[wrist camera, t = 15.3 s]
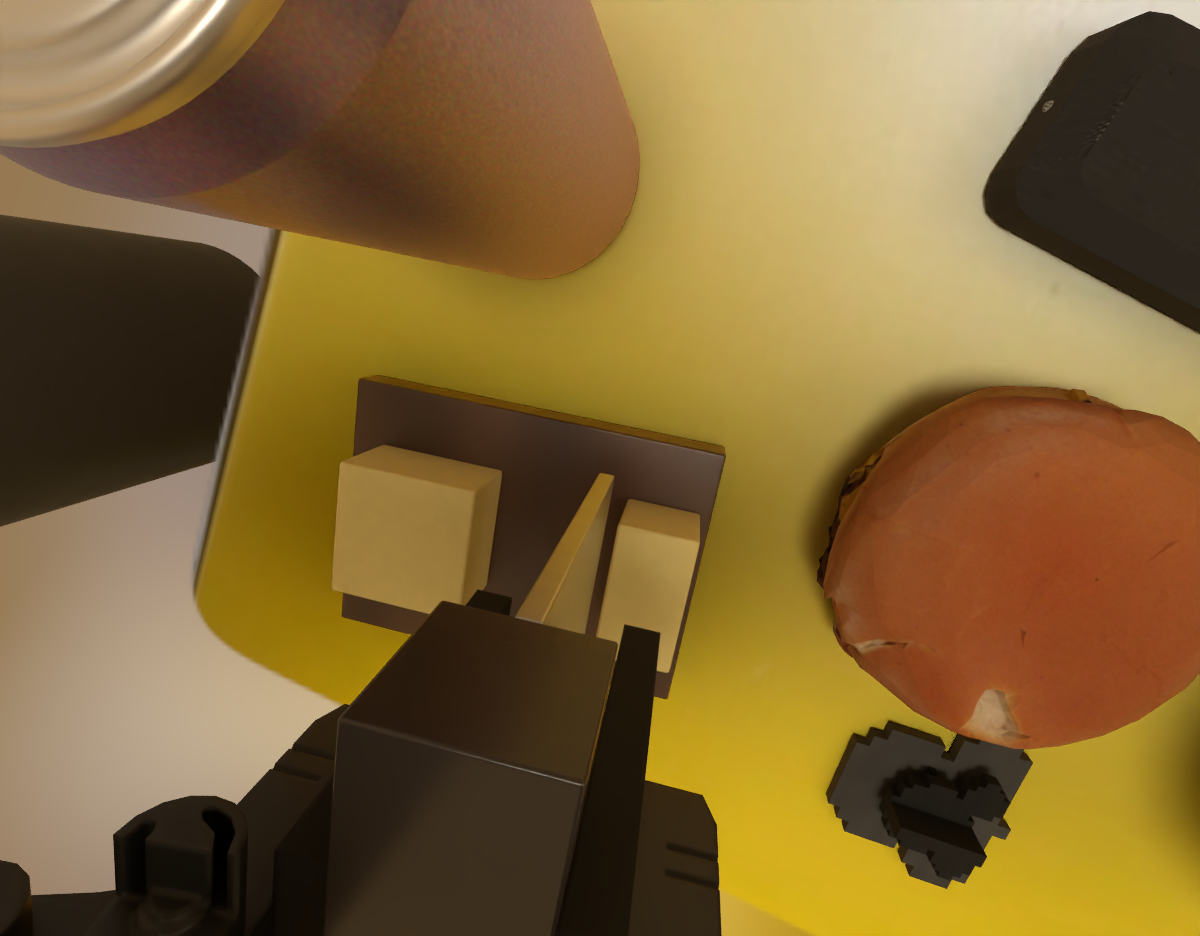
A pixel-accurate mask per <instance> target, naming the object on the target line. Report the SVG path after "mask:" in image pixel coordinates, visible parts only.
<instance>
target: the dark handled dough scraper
mask: <svg viewBox="0 0 1200 936" xmlns="http://www.w3.org/2000/svg"><path fill="white" fill-rule="evenodd" d="M614 479H615V477H614V476H613V475H608V474H604V473H600V474H599V475H598V477H597V478H596V480H595V482H594V484H593V485H592V487H591V489H590V490H589V492H588V494H587V495H586V497H585V499H584V501H583V502H582V504H581V506H580V507H579V509H578V511H577V512H576V514H575V516H574V518H573V519H572V521H571V523H570V524H569V526H568V528H567V529H566V531H565V533H564V535H563V536H562V538H561V540H560V541H559V543H558V545H557V546H556V548H555V550H554V552H553V553H552V555H551V557H550V558H549V560H548V562H547V563H546V565H545V567H544V569H543V570H542V572H541V574H540V575H539V577H538V579H537V581H536V582H535V584H534V586H533V587H532V589H531V591H530V592H529V594H528V596H527V598H526V599H525V601H524V603H523V604H522V606H521V608H520V609H519V611H518V613H517V615H516V616H515V617H511V616H507V615H503V614H499V613H494V612H490V611H486V610H482V609H478V608H474V607H469V606H465V605H461V604H457V603H453V602H449V601H441V602H440V603H439V604H438V605H437V606H436V607H435V609H434V610H433V611H432V612H431V613H430V614H429V615H428V617H427V618H426V619H425V620H424V621H423V622H422V623H421V625H420V626H419V627H418V628H417V629H416V630H415V631H414V633H413V634H412V635H411V636H410V637H409V638H408V639H407V641H406V642H405V643H404V644H403V645H402V646H401V647H400V649H399V650H398V651H397V652H396V653H395V654H394V655H393V656H392V658H391V659H390V660H389V661H388V662H387V663H386V664H385V666H384V667H383V668H382V669H381V670H380V671H379V672H378V674H377V675H376V676H375V677H374V678H373V679H372V680H371V682H370V683H369V684H368V685H367V686H366V687H365V688H364V690H363V691H362V692H361V693H360V694H359V695H358V696H357V698H356V699H355V700H354V701H353V702H352V703H351V704H350V706H349V707H348V708H347V709H346V710H345V711H344V712H343V714H342V715H341V716H340V717H339V719H338V727H337V741H336V755H335V768H334V782H333V795H332V809H331V823H330V836H329V850H328V863H327V877H326V890H325V904H324V918H323V931H322V936H555V935H556V930H557V926H558V921H559V917H560V912H561V908H562V903H563V899H564V895H565V890H566V886H567V881H568V877H569V872H570V868H571V863H572V859H573V854H574V850H575V845H576V841H577V836H578V832H579V827H580V823H581V818H582V814H583V809H584V805H585V800H586V796H587V792H588V787H589V783H590V778H591V773H592V769H593V764H594V759H595V754H596V750H597V745H598V740H599V735H600V731H601V726H602V721H603V716H604V711H605V707H606V702H607V697H608V692H609V688H610V683H611V678H612V673H613V669H614V664H615V659H616V654H617V650H618V644H617V642H615V641H611V640H607V639H603V638H599V637H594V636H590V635H586V634H585V630H586V625H587V620H588V614H589V609H590V604H591V599H592V594H593V588H594V583H595V578H596V573H597V568H598V562H599V557H600V552H601V547H602V541H603V536H604V531H605V526H606V521H607V515H608V510H609V505H610V500H611V495H612V489H613V484H614Z"/></svg>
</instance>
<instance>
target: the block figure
mask: <svg viewBox="0 0 1200 936" xmlns="http://www.w3.org/2000/svg"><path fill="white" fill-rule="evenodd" d="M945 748H946V746H945V745H944V743H943V741H942V739H941V738H939V737H936V736H933V735H930V734H927V733H923V732H920V731H917V730H914V729H911V728H908V727H905V726H902V725H899V724H896V723H893V722H890V721H889V722H888V724H887V726H886V728H885V731H884V732H883V731H880V730H877V729H874V728H871V729H870V731H869V733H868V735H867V737H866V738H865V737H862V736H859V735H856V734H853V736H852V738H851V741H850V743H849V745H848V747H847V749H846V751H845V754H844V756H843V758H842V760H841V762H840V765H839V767H838V769H837V771H836V773H835V775H834V778H833V780H832V782H831V784H830V786H829V789H828V791H827V793H826V795H827V799H828V803H829V804H832V805H835V806H834V810H835V814H836V817H837V818H840V819H842V825H843V829H844V831H845V832H848V833H851V834H854V835H857V836H860V837H863V838H866V839H869V840H872V841H874V842H877V843H880V844H883V845H886V846H889V847H892V848H894V847H895V845H896V843H897V842H898V844H899V846H900V848H899V850H898V854H899V856H900V859H901V862H903V863H906V864H905V866H906V869H907V871H908V874H909V876H911V877H914V878H917V879H920V880H923V881H926V882H929V883H932V884H934V885H937V886H940V887H943V888H946V889H947V887H948V885H949V884H950V882H951V880H955V881H958V882H961V883H964V884H965V882H966V880H967V879H968V877H969V875H970V874H971V872H972V870H973V868H974V867H975V866H978V867H981V866H982V865H983V863H984V861H985V859H986V857H987V856H986V854H985V852H984V849H985V847H986V845H987V843H988V841H989V840H990V838H991V836H995V837H998V838H1001V839H1004V840H1005V839H1006V837H1007V836H1008V834H1009V832H1010V830H1011V829H1010V828H1009V826H1008V824H1007V823H1006V821H1005V820H1004V819H1002V817H1003V815H1004V814H1005V812H1006V810H1007V808H1008V807H1009V805H1010V803H1011V801H1012V799H1013V797H1014V796H1015V794H1016V792H1017V790H1018V788H1019V787H1020V785H1021V783H1022V781H1023V780H1024V778H1025V776H1026V774H1027V773H1028V771H1029V769H1030V767H1031V765H1032V764H1033V762H1032V761H1031V759H1030V758H1029V757H1028V755H1027V754H1026V753H1023V751H1024V749H1012V748H1009V747H1005V746H1001V745H998V744H994V743H990V742H987V741H983V740H979V739H974V738H970V737H967V736H964V735H961V734H958V736H957V738H956V740H955V741H954V743H953V745H952V747H951V749H950V751H949V753H947V752H944V750H945Z"/></svg>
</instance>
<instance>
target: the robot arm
mask: <svg viewBox="0 0 1200 936" xmlns="http://www.w3.org/2000/svg"><path fill="white" fill-rule="evenodd" d="M511 603H512V597H508V596H504V595H500V594H495V593H491V592H487V591H483V590H477V591H476V592H475V594H474V595H473V596H472V597H471V599H470V600H469V601H468V603H467V604H466V605H465V606H469V607H474V608H478V609H482V610H486V611H490V612H494V613H499V614H503V615H507V616H510V609H511ZM660 634H661V633H660V632H656V631H652V630H647V629H643V628H639V627H635V626H630V625H626V624H624V628H623V633H622V637H621V641H620V646H619V650H618V655H617V659H616V664H615V668H614V672H613V677H612V681H611V686H610V690H609V694H608V699H607V703H606V708H605V712H604V716H603V721H602V726H601V731H600V735H599V740H598V745H597V750H596V754H595V759H594V764H593V769H592V773H591V778H590V783H589V787H588V792H587V796H586V800H585V805H584V809H583V814H582V818H581V823H580V827H579V832H578V836H577V841H576V845H575V850H574V854H573V859H572V863H571V868H570V872H569V877H568V881H567V886H566V890H565V895H564V899H563V903H562V908H561V912H560V917H559V921H558V926H557V930H556V935H555V936H721V918H720V917H721V916H720V915H721V914H720V891H719V890H718V888H719V867H718V863H717V860H718V843H717V825H716V822H715V820H714V818H713V816H712V814H711V812H710V810H709V808H708V806H707V804H706V801H705V799H704V797H703V795H700V794H696V793H692V792H688V791H684V790H681V789H677V788H673V787H669V786H665V785H662V784H658V783H654V782H650V781H646V780H645V774H646V764H647V755H648V746H649V736H650V727H651V718H652V708H653V699H654V690H655V681H656V671H657V662H658V653H659V643H660ZM349 706H350V705H347V704H344V705H342V706H340V707H339V708H337V709H335V710H333V711H331V712H330V713H328V714H326V715H324V716H323V717H321V718H319V719H317V720H315V721H314V722H313V723H312V724H311V726H310V727H309V728H308V729H307V730H306V731H305V732H304V733H303V734H302V735H301V736H300V737H299V738H298V740H297V741H296V742H295V743H294V744H293V747H292V749H288V751H286V753H285V754H284V755H283V756H282V757H281V758H280V759H279V760H278V761H277V762H276V763H275V766H274V768H273V769H270V770H269V771H268V772H267V773H266V774H265V775H264V776H263V777H262V779H261V780H260V781H259V782H258V783H257V784H256V785H255V786H254V787H253V788H252V789H251V790H250V791H249V792H248V793H247V795H246V796H245V797H244V798H243V799H242V800H241V801H240V802H239V803H238V804H237V805H236V804H235V803H233V802H231V801H228V800H225V799H222V798H220V797H217V796H188V797H184V798H180V799H176V800H172V801H168V802H163V803H161V804H159V805H157V806H155V807H153V808H151V809H149V810H147V811H145V812H143V813H141V814H139V815H137V816H136V817H134V818H133V819H132V820H131V821H129V822H128V823H127V824H126V825H124V826H123V827H122V828H121V829H120V830H118V831H117V832H116V833H115V834H114V835H113V840H114V862H115V883H116V890H112V891H105V892H96V893H73V894H51V895H31V889H30V878H29V875H28V874H27V873H26V872H25V871H24V870H23V869H22V868H21V867H20V866H19V865H18V864H16V863H11V862H7V861H1V860H0V936H322V931H323V918H324V904H325V890H326V877H327V863H328V850H329V836H330V823H331V809H332V795H333V782H334V768H335V755H336V741H337V727H338V719H339V717H340V716H341V715H342V714H343V712H344V711H345V710H346V709H347V708H348V707H349Z"/></svg>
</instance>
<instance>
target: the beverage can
mask: <svg viewBox="0 0 1200 936" xmlns="http://www.w3.org/2000/svg"><path fill="white" fill-rule="evenodd" d="M0 154H2V155H3V156H5V157H7V158H9V159H11V160H12V161H14V162H16V163H18V164H20V165H22V166H23V167H25V168H27V169H30V170H32V171H34V172H36V173H39V174H41V175H43V176H45V177H47V178H50V179H53V180H55V181H58V182H61V183H64V184H67V185H69V186H73V187H76V188H80V189H84V190H87V191H91V192H95V193H101V194H105V195H110V196H115V197H120V198H125V199H131V200H135V201H141V202H145V203H150V204H155V205H160V206H165V207H170V208H175V209H180V210H185V211H190V212H195V213H200V214H205V215H210V216H215V217H220V218H225V219H229V220H235V221H239V222H244V223H250V224H254V225H259V226H264V227H269V228H274V229H279V230H284V231H289V232H294V233H299V234H304V235H309V236H314V237H319V238H324V239H329V240H334V241H339V242H344V243H349V244H353V245H358V246H363V247H368V248H373V249H378V250H383V251H388V252H393V253H398V254H403V255H408V256H413V257H418V258H423V259H428V260H433V261H438V262H443V263H448V264H453V265H458V266H463V267H468V268H473V269H478V270H483V271H488V272H493V273H497V274H502V275H507V276H512V277H518V278H524V279H546V278H552V277H557V276H561V275H564V274H567V273H570V272H572V271H574V270H576V269H578V268H580V267H582V266H584V265H585V264H587V263H589V262H590V261H591V260H593V259H594V258H595V257H597V256H598V255H599V254H600V253H601V252H602V251H603V250H604V249H605V248H606V247H607V246H608V245H609V244H610V243H611V242H612V240H613V239H614V238H615V237H616V235H617V234H618V232H619V231H620V229H621V227H622V226H623V224H624V222H625V220H626V218H627V216H628V214H629V212H630V209H631V207H632V204H633V201H634V198H635V194H636V189H637V184H638V177H639V148H638V140H637V135H636V131H635V127H634V124H633V121H632V118H631V115H630V112H629V109H628V106H627V104H626V101H625V98H624V95H623V92H622V89H621V86H620V84H619V81H618V78H617V75H616V72H615V69H614V67H613V64H612V61H611V58H610V55H609V52H608V49H607V47H606V44H605V41H604V38H603V35H602V32H601V30H600V27H599V24H598V21H597V18H596V15H595V12H594V10H593V7H592V4H591V1H590V0H0Z"/></svg>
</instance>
